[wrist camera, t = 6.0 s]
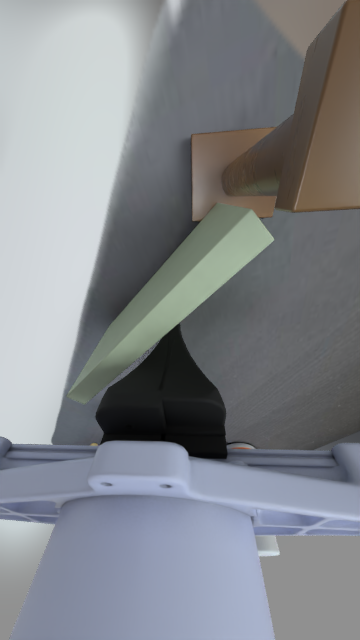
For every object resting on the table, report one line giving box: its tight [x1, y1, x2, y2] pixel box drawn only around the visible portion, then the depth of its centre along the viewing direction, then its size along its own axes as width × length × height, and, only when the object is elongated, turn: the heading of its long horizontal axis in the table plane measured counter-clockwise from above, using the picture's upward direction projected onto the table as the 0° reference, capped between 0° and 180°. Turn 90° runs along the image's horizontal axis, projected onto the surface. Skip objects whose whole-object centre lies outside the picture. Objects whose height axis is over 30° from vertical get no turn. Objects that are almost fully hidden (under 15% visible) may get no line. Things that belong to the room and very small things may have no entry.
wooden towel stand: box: [191, 0, 360, 222], centre depth 7 cm, size 4×5×10 cm
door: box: [67, 203, 274, 404], centre depth 11 cm, size 13×2×7 cm, turn 137°
